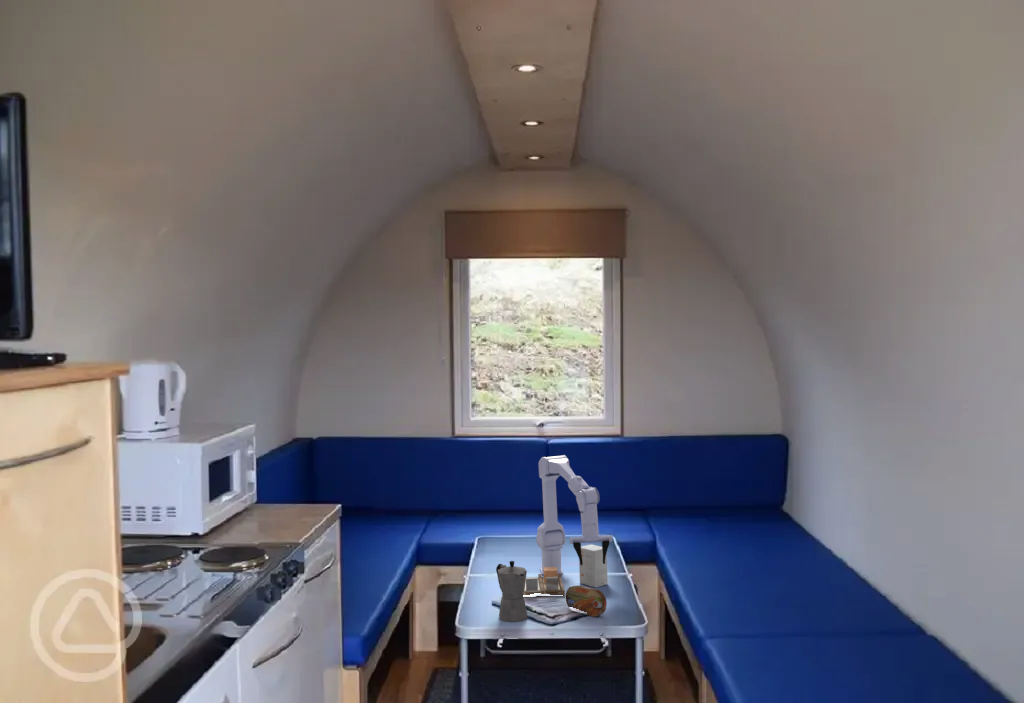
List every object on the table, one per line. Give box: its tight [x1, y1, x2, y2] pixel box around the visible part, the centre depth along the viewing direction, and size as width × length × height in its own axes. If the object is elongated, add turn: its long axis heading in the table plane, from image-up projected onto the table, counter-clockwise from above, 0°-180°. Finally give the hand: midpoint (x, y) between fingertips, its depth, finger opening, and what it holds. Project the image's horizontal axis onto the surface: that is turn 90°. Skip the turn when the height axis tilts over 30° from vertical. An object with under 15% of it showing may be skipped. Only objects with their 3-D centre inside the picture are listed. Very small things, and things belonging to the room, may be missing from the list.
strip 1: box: [524, 576, 540, 593], centre depth 307 cm, size 15×5×5 cm, turn 1°
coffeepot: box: [495, 560, 528, 623], centre depth 278 cm, size 15×9×18 cm, turn 33°
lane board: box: [523, 573, 566, 597], centre depth 307 cm, size 20×15×2 cm
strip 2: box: [542, 576, 560, 592], centre depth 307 cm, size 15×5×5 cm, turn 1°
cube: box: [543, 567, 558, 584], centre depth 309 cm, size 4×4×4 cm
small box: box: [578, 543, 608, 589], centre depth 311 cm, size 8×6×13 cm
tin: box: [564, 585, 608, 618], centre depth 280 cm, size 15×3×8 cm, turn 47°
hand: (592, 563), depth 300 cm, fingers open, 7 cm apart
